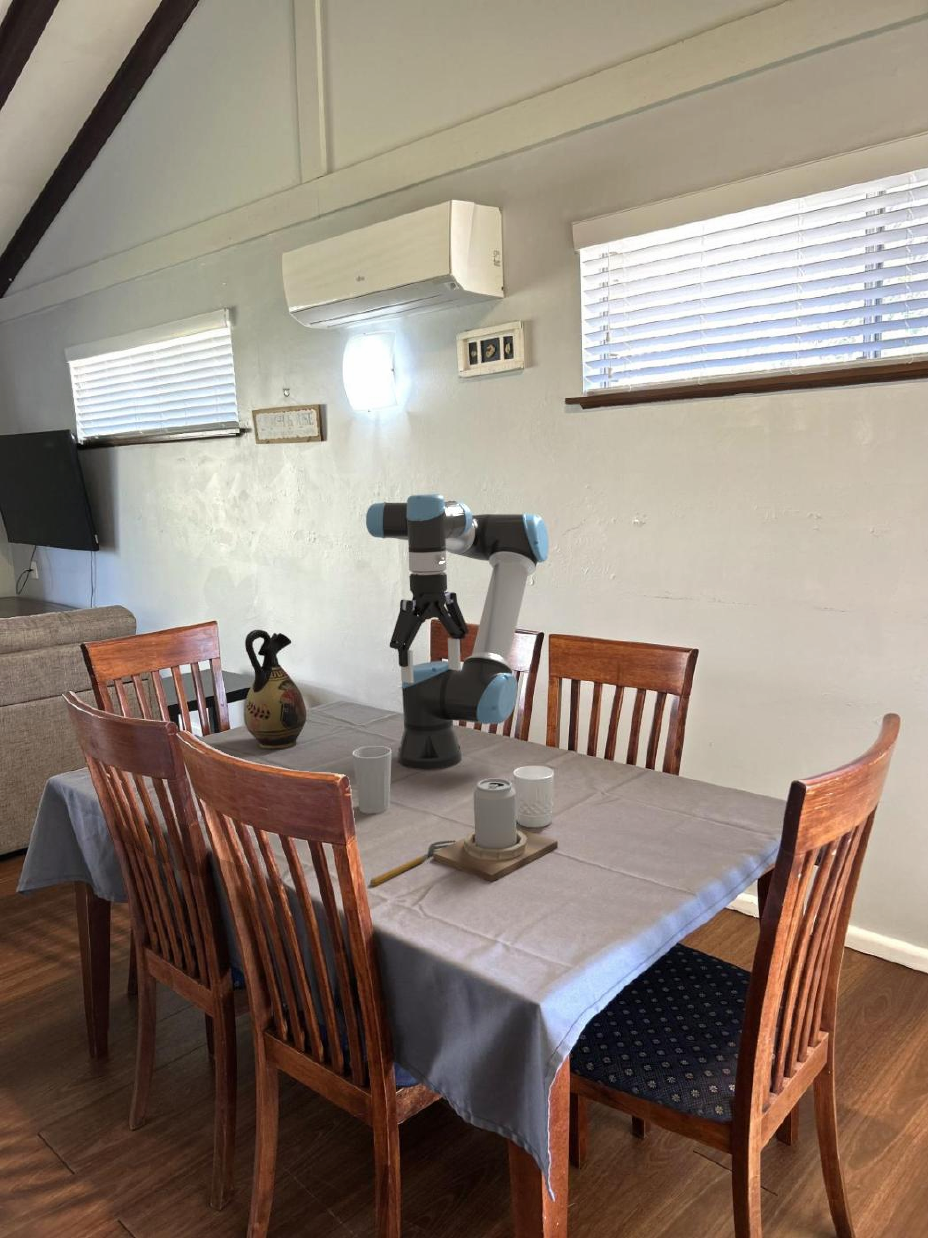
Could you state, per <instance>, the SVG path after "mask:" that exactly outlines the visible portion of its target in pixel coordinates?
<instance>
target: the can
mask: <svg viewBox="0 0 928 1238" xmlns="http://www.w3.org/2000/svg"><path fill="white" fill-rule="evenodd" d="M473 812H474V814H473V815H474V831H475V844H476V845H477V846H478V847H480V848H483V849H495V850H499V849H505V848H511V847H513V846H515V845H516V843H517V831H516V828H517V809H516V792H515V789H514V786H513V783H512V782H511V781H510V780H509V779H505V778H498V777H491V778H485V779H481V780H479V781H478V782H477V784H476V788H475V789H474V790H473Z"/></svg>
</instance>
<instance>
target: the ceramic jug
mask: <svg viewBox="0 0 928 1238" xmlns="http://www.w3.org/2000/svg"><path fill="white" fill-rule="evenodd" d="M259 638H261V639H263V643H262V644H261V645H260V648H259V651H258V653H257V655H258V656H261V657H263V661H262V666H261V664H260V662H259V660H258V658H257V655H256V652H255V649H254V641H256V640H258V639H259ZM290 644H292V640H291V639H290V638H289V637H288V636H286V635H285V634H283V633H280V632H279V633H278V634H277V633H276V632H274V633H273V634H272V636H271V635H270V634H269V632H267V631H266V630H263V629H254V630H252V631H251V630H250V632H248V634H247V635H246V636H245V640H244V647H245V651H246V653H247V655H248V659H249V661H250V663H251V667H252V668H253V670H254V680H253V683H252V684H251V686H250V689H249V690H248V693H247V696H246V699H245V704H244V710H243V711H244V713H243V715H244V717H243V718H244V724H245V727H246V729H247V731H248V732H249V733H250V735H252V736H253V737H254V739H255V740H256V741H257V742H258V745H259V747H261V748H262V749H285V748H289V747H295V746H296V745H297V743H298V742H297V739H298V738H299V736H300V734H301V732H302V731H303V728H304V727H305V724H306V721H307V707H306V704H305V701H304V698H303V695H302V692H301V691H300V689H299V687H298V686H297V685H296V683H295V681H294V680H293V679H292V678H291V677H290V675H289V674H288V673H287V671H286V670H285V669H284V668H283V667H282V665H281V664H280V663H279V659H278V656H277V654H278V653H280V651H281V650H283V649H285V648H286V647H288V646H290ZM261 748H260V749H261Z"/></svg>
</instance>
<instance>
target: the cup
mask: <svg viewBox="0 0 928 1238" xmlns="http://www.w3.org/2000/svg"><path fill="white" fill-rule="evenodd" d="M352 761H353V769H354V776H355V784H356V792H357V798H358V809H359V812H361V811H362V813H364V814H369V813H375V814H379V813H378V812H382V813H384V812H383V811H385V812H387V811H389V809H390V808H391V801H390V799H391V776H392V775H391V774H392V773H391V772H392V771H391V770H392V749H391V748H390V747H388V746H382V745H370V746H369V745H367V746H362V747H359V748H356V749H354V750H353V751H352Z"/></svg>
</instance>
